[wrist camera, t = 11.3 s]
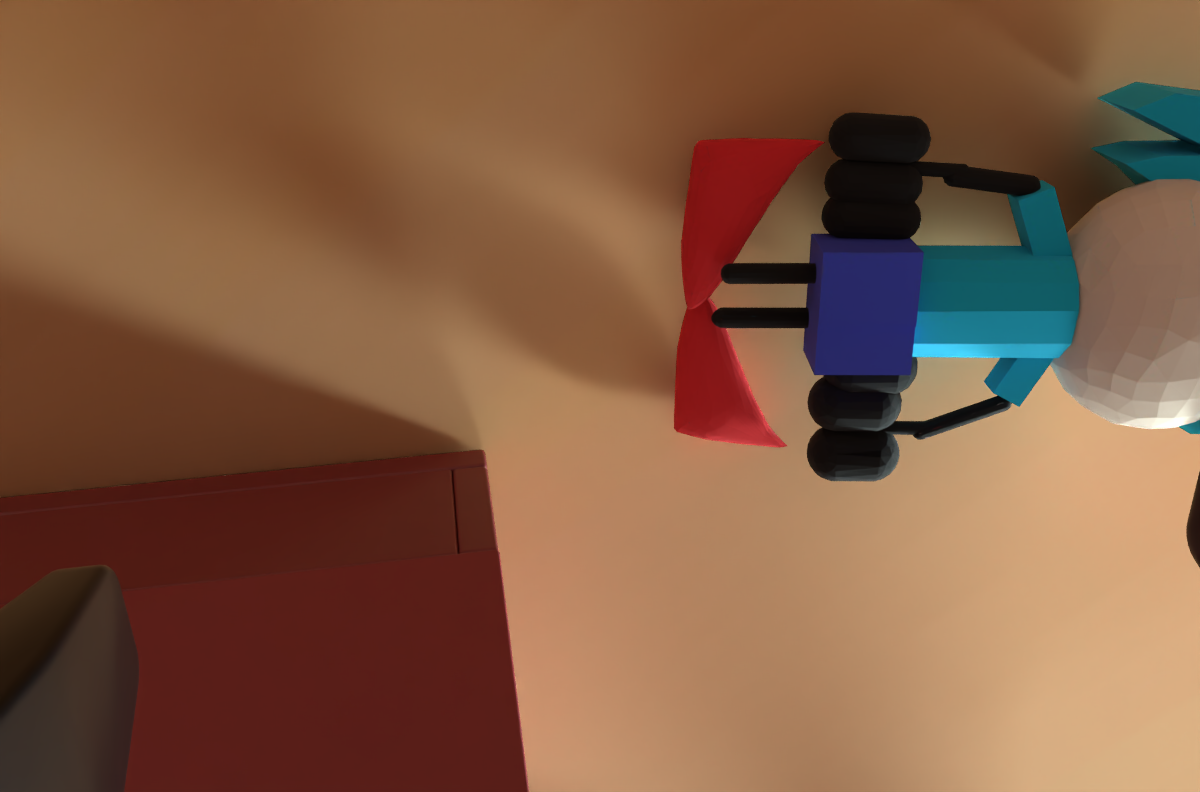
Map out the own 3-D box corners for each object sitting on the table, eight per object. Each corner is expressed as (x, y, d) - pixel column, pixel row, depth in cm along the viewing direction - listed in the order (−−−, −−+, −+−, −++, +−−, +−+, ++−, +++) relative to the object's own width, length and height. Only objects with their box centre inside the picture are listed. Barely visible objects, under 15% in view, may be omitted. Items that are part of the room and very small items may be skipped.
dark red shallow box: (516, 832, 28) (532, 964, 25) (-198, 934, 26) (-283, 1093, 23) (484, 447, 23) (498, 548, 20) (-398, 535, 21) (-542, 664, 18)
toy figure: (669, 429, 26) (1349, 430, 25) (680, 535, 21) (1510, 539, 21) (676, 78, 23) (1441, 77, 23) (690, 114, 18) (1651, 112, 18)
